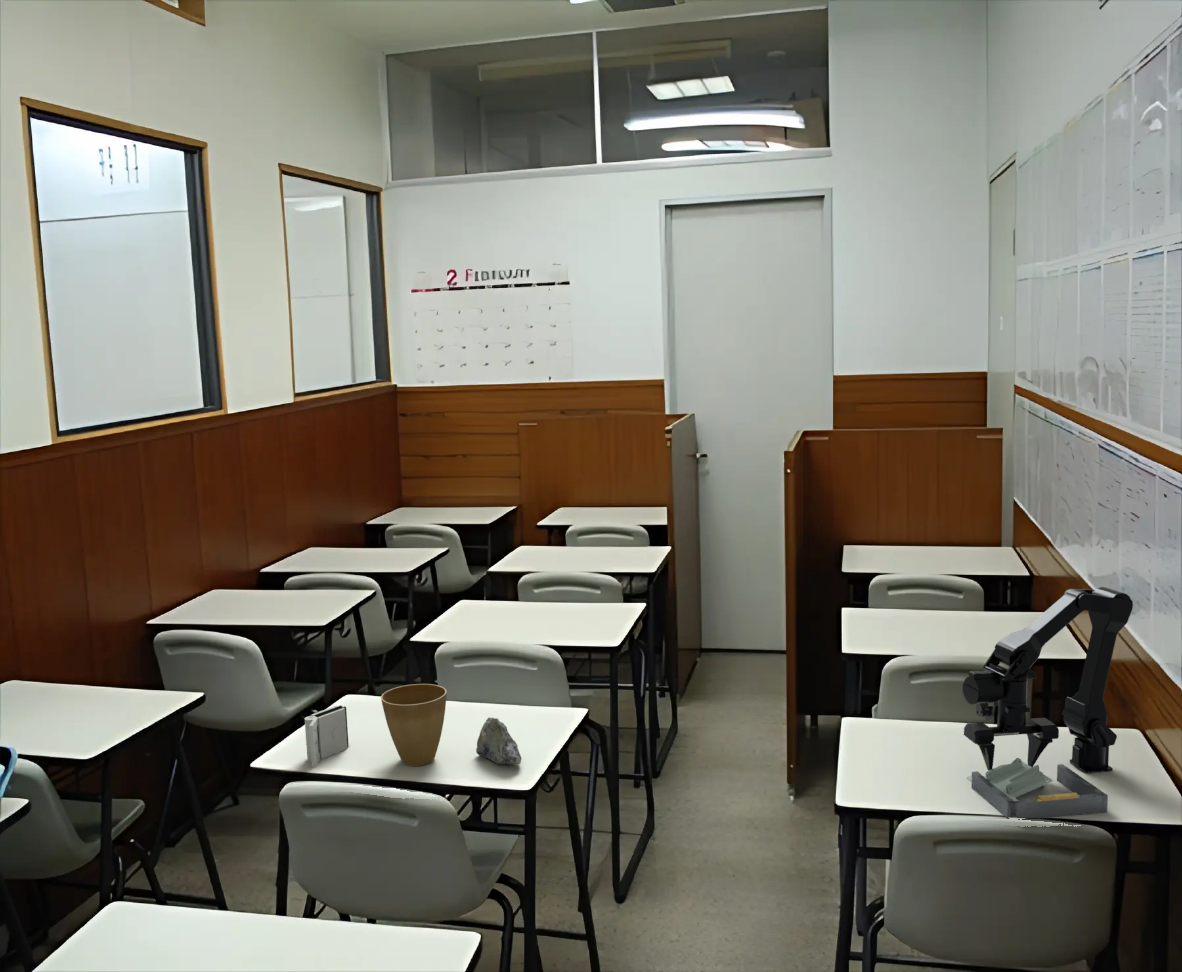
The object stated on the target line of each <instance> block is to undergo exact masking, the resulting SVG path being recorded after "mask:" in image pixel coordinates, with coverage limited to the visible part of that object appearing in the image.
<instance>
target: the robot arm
mask: <svg viewBox="0 0 1182 972" xmlns="http://www.w3.org/2000/svg"><path fill="white" fill-rule="evenodd" d="M1133 608H1134V603H1133V600H1132V599H1131V597H1130V595H1128V594H1127V593H1124V592H1121V591H1118V590H1115V589H1111V588H1109V587H1106V586H1105V587H1104V586H1099V587H1098V588H1096V589H1095V590H1094V589H1088V588H1085V589H1084V588H1082V589H1081V588H1080V589H1078V588H1069V589H1066V590H1065V592H1064V593H1063V595H1061V596H1060V598H1059V599H1058V600H1057V601H1055V602H1054V603H1053V604H1052V605H1051V606H1050V607H1048V608H1047V609H1046V610H1045V611H1043V613H1042V614H1040V615H1039V616H1038V617H1037V618H1035V620H1033V621H1032V622H1031V623H1030V624H1029V625H1028V626H1027V627H1024V628H1023V629H1021V630H1018V631H1014V632H1011V633H1009V634H1007V636H1004V637H1003V638H1001V639H1000V640H998V642H996V644H995V646H994V650H993V651H992V653H991V654H990V656H989V657H988V659H987V660H986V662H985V663H984V665H983V669H984V670H970V671H968V677H965V679H964V681H963V683H962V693H963V697H964V700H966V702H967V703H968V704H970V705H976V706H975V707H976V708H975V711H976V716H977V717H979V718H981V717H982V718H983V717H984V721H990V723H992V724H993V725H996V726H988V725H986V724H985V723H984V722H983V721H980V722H979V721H978V722H967V723H966V724H965V725H964V727H963V736H965V737H966V738H967V739H968V740H970V742H972V743H974V744H975V745H977V746H978V747H979V750H980V752H981V755H982V757H983V760H984V763H985V767H986V770H987V771H989V770H991V769H993V766H994V757H995V748H996V745H995V743H993V741H995V737H1003V736H1004V737H1005V736H1017V735H1018V736H1019V735H1026V736H1027V740H1028V747H1027V748H1028V749H1027V750H1028V751H1027V765H1029V766H1031V767H1034V766H1035V764H1036V762H1037V760H1038V759H1039V758H1040V756H1041V755H1042V753H1043V752H1044V750H1045V749H1047V746H1048V745H1049V744H1050V743H1053V740H1057V739H1059V736H1060V735H1059V733H1060V732H1059V731H1060V730H1059V726H1058V725H1057V724H1055V723H1054V722H1052V721H1051V720H1049V719H1048V718H1046V717H1035V718H1029V719H1028V720H1027V713H1030V711H1031V707H1030V706H1029V705H1027V702H1028V701H1027V700H1028V680H1030V679H1031V680H1033V679H1037V677H1038V675H1037V674H1036V673H1035V672H1034V671H1032V669H1031V667H1032V666H1033V665H1034V663H1035V662H1036V661H1038V659H1039V658H1040V655H1041V652H1042V649H1043V647H1044V646H1045V645H1046V644H1047V643H1048V642H1049V641H1050V640H1051V639H1053V637H1055V636H1056V635H1057V634H1058V633H1059V632H1061V630H1063V629H1064V628H1065V627H1066V626H1067V625H1069V624H1070V623H1071V622H1072V621H1074V619H1076V618H1077V617H1078V616H1079V615H1080V614H1082V612H1084V611H1087V612H1088V616H1089V620H1090V623H1091V631H1090V632H1091V633H1090V637H1089V641H1088V647H1087V652H1086V655H1085V659H1084V665H1083V669H1082V673H1081V679H1080V683H1079V687H1078V691H1077V692H1076V693H1075V694H1074V695H1073V696H1072V697H1069V696H1066V698H1065V699H1064V701H1065V702H1064V707H1063V710H1062V712H1061V714H1062V715H1063V723H1064V724H1065V725H1066V727H1067V729H1068V731H1069V734H1070V735H1072V736H1075V737H1074V742H1073V743H1074V744H1073V745H1072V748H1071V749H1072V752H1071V753H1072V754H1071V759H1069V763H1070V764H1072V765H1073V766H1075V767H1077V769H1079V770H1080V771H1082V772H1084V773H1085V774H1087V773H1101V772H1111V771H1113V767H1112V766H1111V765H1109V758H1110V757H1109V756H1110V755H1109V753H1110V746H1114V745H1115V743H1116V740H1117V737H1118V735H1117V734H1116V733H1115V732H1114V731H1113V730H1112V729H1111V728H1110V727H1109V726H1108V725H1107V723H1108V711H1107V707H1106V703H1105V701H1104V694H1105V690H1106V686H1107V681H1108V678H1109V677H1108V676H1109V673H1110V672H1109V671H1110V667H1111V663H1112V658H1113V655H1114V650H1115V645H1116V641H1117V640H1116V639H1117V635H1118V633H1119V632H1120V631H1121V630H1122V629H1123V628H1124V627H1125V626H1126V625H1127V624H1128V622H1129V619H1130V617H1131V613H1132V612H1133V610H1134V609H1133ZM1000 664H1001V665H1004V666H1005V667H1007V668H1005V667H1003V666H1001V665H1000ZM989 703H993V705H989Z"/></svg>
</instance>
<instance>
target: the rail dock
mask: <svg viewBox="0 0 1182 972" xmlns="http://www.w3.org/2000/svg"><path fill="white" fill-rule="evenodd" d="M1056 770H1057V771H1056V781H1057V782H1059V783H1060V784H1061V785H1063V786H1064V787H1065V788H1066V789H1068V790H1070V791H1071V792H1067V793H1066V792H1065V793H1055V794H1054V793H1053V794H1043V795H1037V797H1036V798H1034V799H1033V798H1032V799H1031V798H1030V799H1023V800H1022V799H1021V800H1020V799H1019V800H1018V799H1017V800H1018V801H1013V800H1012V799H1011V798H1009V797H1008V796H1007V795H1006V794H1004V793H1003V792H1002V791H1001V790H1000V789H998V788H997V787H996V786H995V785H993V784H992V783H991V782H990V781H988V780H987V779H986V778H985V777H984V776H985V775H984V776H983V775H982V773H980V772H979V771H971V775H972V782H971V789H972V790H974V791H975V792H976V793H977V794H978V795H980V797H982V798H983V799H984V800H985V801H986V802H988V803H989V804H990V805H991V806H993V808H994V809H996V810H997V812H999V813H1000V814H1002V815H1003V816H1004V817H1005V818H1006V817H1017V818H1037V819H1046V818H1047V819H1048V818H1057V817H1058V818H1059V817H1066V816H1067V817H1069V816H1079V815H1081V816H1082V815H1090V814H1100V813H1101V814H1102V813H1107V812H1108V802H1109V800H1108V798H1109V795H1108V794H1107V793H1105V792H1104V791H1102V790H1101V789H1100V788H1098V787H1097V786H1096V785H1094V784H1092V783H1091V782H1089V781H1088V780H1087V779H1085V778H1083V777H1082V776H1081V775H1079V774H1078V773H1076V772H1075V771H1074V770H1072V769H1070V768H1069V767H1068V766H1066V765H1065V764H1064V763H1061V764H1060V763H1059V764H1057V768H1056Z"/></svg>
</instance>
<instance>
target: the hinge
mask: <svg viewBox="0 0 1182 972" xmlns="http://www.w3.org/2000/svg"><path fill="white" fill-rule="evenodd" d="M348 728H349V727H348V713H347V706H343V705H333V706H332V707H329V708H326V709H324V710H323V709H322V710H320V711H317V712H314V713H313V714H310V715H309V716H306V717H304V731H305V742H306V743H305V745H306V756H307V757H306V758H307V761H308V762H311V768H316V767H317V766H318V764H319V762H321V761H320V760H324V759H325V758H328V757H330V756H333V755H335V754H338V753H339V752H342V751H345V750H347V749H348V748H349V746H350V745H349V732H348Z"/></svg>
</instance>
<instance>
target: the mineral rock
mask: <svg viewBox="0 0 1182 972" xmlns="http://www.w3.org/2000/svg"><path fill="white" fill-rule="evenodd" d="M518 745H519V744H517V742H516V741H515V740H514V738H513V737H512V736H511V735H510V732H509V731H508V727H507V726H506V725H505V723H504V722H502V721H500V720H499V718H496V717H488V718H486V719H485V722H484V723H483V725H482V727H481V729H480V732H479V736H478V739H477V741H476V749H475V751H476V754H477V755H478V756H482V755H483V756H482V757H484V758H485V759H486V758H488V759H487V760H490V759H491V761H492V762H493V761H494V762H493V763H496V764H499V765H502V764H507V765H516V766H518V765H519V766H520V764H521V763H522V756H521V753H520V750H519V748H518V747H519V746H518Z"/></svg>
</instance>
